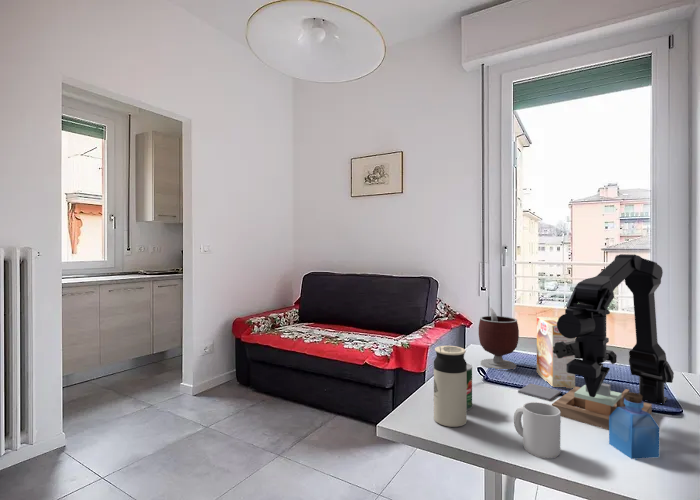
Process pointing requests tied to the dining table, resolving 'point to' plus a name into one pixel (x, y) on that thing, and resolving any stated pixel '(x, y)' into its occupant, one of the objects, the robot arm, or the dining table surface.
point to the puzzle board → (586, 416)
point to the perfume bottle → (634, 429)
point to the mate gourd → (498, 339)
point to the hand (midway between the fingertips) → (592, 396)
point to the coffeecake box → (552, 354)
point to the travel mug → (450, 386)
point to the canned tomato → (469, 386)
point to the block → (598, 407)
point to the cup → (539, 429)
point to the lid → (600, 395)
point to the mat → (539, 392)
